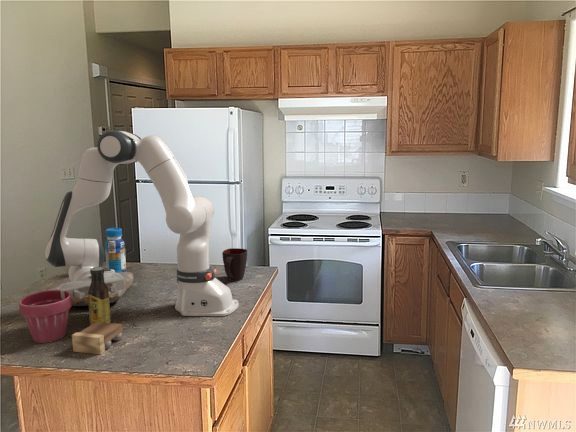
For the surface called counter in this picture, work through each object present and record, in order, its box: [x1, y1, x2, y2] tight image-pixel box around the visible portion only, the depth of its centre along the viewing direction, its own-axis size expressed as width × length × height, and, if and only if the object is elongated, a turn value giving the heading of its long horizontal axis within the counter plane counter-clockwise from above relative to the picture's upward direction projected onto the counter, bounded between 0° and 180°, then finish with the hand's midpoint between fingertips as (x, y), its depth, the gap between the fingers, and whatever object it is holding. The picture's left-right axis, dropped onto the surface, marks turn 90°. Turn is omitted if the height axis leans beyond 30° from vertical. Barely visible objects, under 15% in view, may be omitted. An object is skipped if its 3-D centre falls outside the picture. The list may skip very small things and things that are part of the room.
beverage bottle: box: [104, 227, 127, 272], centre depth 213 cm, size 8×8×20 cm
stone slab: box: [45, 271, 135, 307], centre depth 184 cm, size 31×29×6 cm
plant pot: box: [18, 290, 73, 344], centre depth 148 cm, size 14×14×13 cm
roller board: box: [71, 322, 124, 355], centre depth 143 cm, size 9×11×5 cm
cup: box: [221, 247, 248, 282], centre depth 203 cm, size 10×14×12 cm
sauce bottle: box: [88, 266, 111, 326], centre depth 154 cm, size 6×6×20 cm
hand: (98, 293), depth 154 cm, fingers open, 8 cm apart
